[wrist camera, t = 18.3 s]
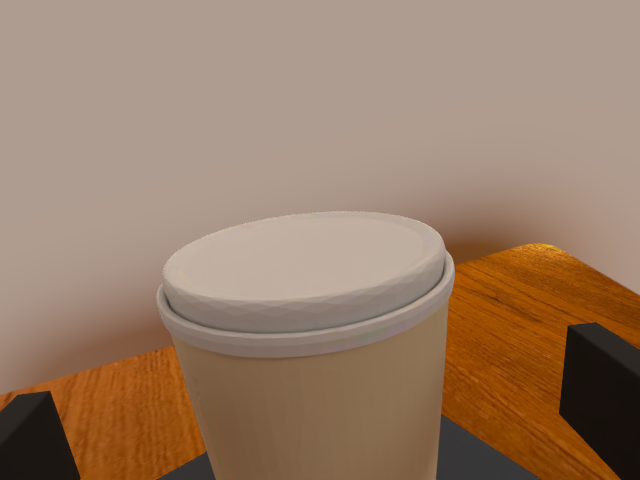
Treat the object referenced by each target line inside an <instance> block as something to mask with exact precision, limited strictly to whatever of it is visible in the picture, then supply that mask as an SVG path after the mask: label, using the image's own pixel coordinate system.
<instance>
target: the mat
mask: <svg viewBox="0 0 640 480" xmlns="http://www.w3.org/2000/svg"><path fill="white" fill-rule="evenodd" d="M157 480H216V478H215V475H214V472H213V469H212V466H211V463H210V460H209V457H208V454H207V452H206V453H204V454H202V455H200V456H199V457H197V458H195V459H193V460H191V461H190V462H188V463H186V464H184V465H182V466H180V467H179V468H177V469H175V470H173V471H171V472H170V473H168V474H166V475H164V476H162V477H161V478H159V479H157ZM436 480H541V479H540V478H538V477H537V476H535V475H534V474H532V473H531V472H529V471H528V470H526V469H524V468H523V467H521V466H520V465H518V464H517V463H515V462H514V461H512V460H511V459H509V458H508V457H506V456H505V455H503V454H501V453H500V452H498V451H497V450H495V449H494V448H492V447H491V446H489V445H488V444H486V443H485V442H483V441H482V440H480V439H479V438H477V437H475V436H474V435H472V434H471V433H469V432H468V431H466V430H465V429H463V428H462V427H460V426H459V425H457V424H456V423H454V422H452V421H451V420H449V419H448V418H446V417H445V416H443V415H442V414H441V421H440V434H439V446H438V458H437V470H436Z"/></svg>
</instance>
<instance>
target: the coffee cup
mask: <svg viewBox="0 0 640 480" xmlns="http://www.w3.org/2000/svg"><path fill="white" fill-rule="evenodd" d="M454 277H455V268H454V263H453V259H452V257H451V256H450V254H449V253H448V252H447V251H446V250H445V245H444V242H443V239H442V238H441V236H440V235H439V233H438V232H437V231H436V230H434V229H433V228H432V227H430V226H428V225H426V224H424V223H422V222H419V221H416V220H413V219H410V218H406V217H402V216H397V215H392V214H386V213H374V212H355V211H338V212H337V211H336V212H318V213H306V214H296V215H289V216H282V217H276V218H269V219H264V220H259V221H254V222H250V223H246V224H242V225H238V226H234V227H231V228H227V229H224V230H221V231H218V232H215V233H213V234H209V235H207V236H204V237H202V238H200V239H198V240H196V241H194V242H192V243H190V244H188V245H186V246H185V247H183V248H182V249H180V250H178V251H177V252H176V253H175V254H174V255H173V256H171V257H170V258H169V260H168V261H167V263H166V264H165V266H164V269H163V273H162V283H161V284H160V286H159V289H158V291H157V306H158V311H159V314H160V317H161V319H162V321H163V323H164V325H165V327H166V328H167V329H168V330H169V331H170V332H171V336H172V339H173V343H174V346H175V350H176V353H177V356H178V360H179V363H180V367H181V370H182V374H183V377H184V380H185V384H186V387H187V390H188V393H189V396H190V400H191V403H192V406H193V409H194V412H195V415H196V419H197V422H198V425H199V428H200V431H201V435H202V438H203V441H204V444H205V447H206V450H207V454H208V457H209V460H210V463H211V466H212V469H213V472H214V475H215V478H216V480H436V470H437V458H438V446H439V434H440V421H441V408H442V394H443V381H444V367H445V354H446V336H447V318H448V298H449V296H450V295H451V293H452V289H453V286H454Z"/></svg>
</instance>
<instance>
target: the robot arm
mask: <svg viewBox="0 0 640 480" xmlns="http://www.w3.org/2000/svg"><path fill="white" fill-rule="evenodd" d="M559 414H560V415H561V416H562V417H563V418H564V419H565V420H566V421H567V422H568V424H569V425H570V426H571V427H572V428H573V429H574V430H575V431H576V432H577V433H578V434H579V435H580V436H581V437H582V438H583V439H584V441H585V442H586V443H587V444H588V445H589V446H590V447H591V448H592V449H593V450H594V451H595V452H596V453H597V454H598V455H599V457H600V458H601V459H602V460H603V461H604V462H605V463H606V464H607V465H608V466H609V467H610V468H611V469H612V470H613V471H614V472H615V474H616V475H617V476H618V477H619V478H620V479H621V480H640V350H639V349H637V348H636V347H634V346H633V345H631V344H630V343H628V342H626V341H625V340H623V339H622V338H620V337H619V336H617V335H615V334H614V333H612V332H611V331H609V330H608V329H606V328H604V327H603V326H601V325H600V324H598V323H597V322H594V323H586V324H578V325H570V326H568V329H567V339H566V349H565V359H564V369H563V379H562V389H561V399H560V409H559ZM80 479H81V478H80V475H79V472H78V469H77V467H76V464H75V461H74V458H73V455H72V452H71V449H70V447H69V444H68V441H67V438H66V435H65V432H64V429H63V426H62V424H61V421H60V418H59V415H58V412H57V409H56V406H55V404H54V401H53V398H52V395H51V392H50V391H44V392H36V393H29V394H21V395H17V396H16V397H15V398H14V399H13V400H12V401H11V402H10V403H9V404H8V405H7V406H6V407H5V408H4V409H3V410H2V411H1V412H0V480H80Z"/></svg>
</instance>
